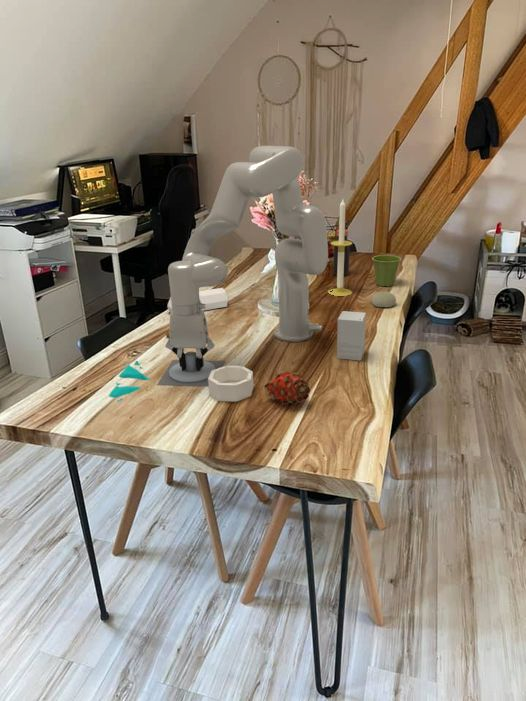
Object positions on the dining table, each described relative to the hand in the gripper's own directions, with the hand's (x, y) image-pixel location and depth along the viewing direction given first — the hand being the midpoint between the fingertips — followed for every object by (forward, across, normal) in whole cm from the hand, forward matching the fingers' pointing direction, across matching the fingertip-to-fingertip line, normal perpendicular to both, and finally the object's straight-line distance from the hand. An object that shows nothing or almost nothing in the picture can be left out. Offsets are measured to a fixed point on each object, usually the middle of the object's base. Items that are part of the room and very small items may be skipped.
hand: (192, 368), depth 147 cm
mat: (+2, 0, 0) cm, 2 cm away
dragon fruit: (+2, -28, +14) cm, 31 cm away
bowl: (+2, -13, +10) cm, 16 cm away
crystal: (+2, +10, -54) cm, 55 cm away
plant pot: (+2, -62, -87) cm, 107 cm away
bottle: (+2, -44, -101) cm, 110 cm away
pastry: (+2, +11, -29) cm, 31 cm away
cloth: (+3, +16, +6) cm, 17 cm away
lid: (+1, 0, 0) cm, 1 cm away
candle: (+2, -43, -75) cm, 86 cm away
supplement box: (+2, -45, -15) cm, 47 cm away
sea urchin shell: (+2, -59, -61) cm, 85 cm away
